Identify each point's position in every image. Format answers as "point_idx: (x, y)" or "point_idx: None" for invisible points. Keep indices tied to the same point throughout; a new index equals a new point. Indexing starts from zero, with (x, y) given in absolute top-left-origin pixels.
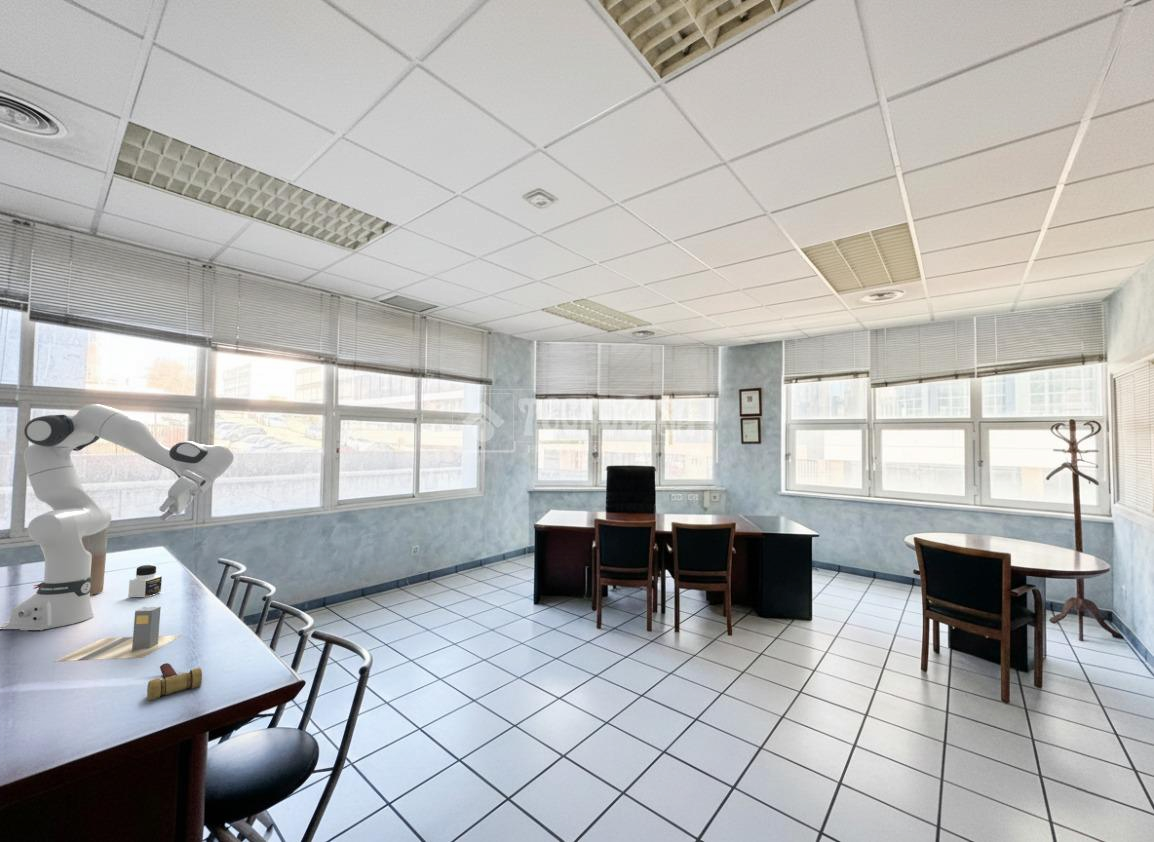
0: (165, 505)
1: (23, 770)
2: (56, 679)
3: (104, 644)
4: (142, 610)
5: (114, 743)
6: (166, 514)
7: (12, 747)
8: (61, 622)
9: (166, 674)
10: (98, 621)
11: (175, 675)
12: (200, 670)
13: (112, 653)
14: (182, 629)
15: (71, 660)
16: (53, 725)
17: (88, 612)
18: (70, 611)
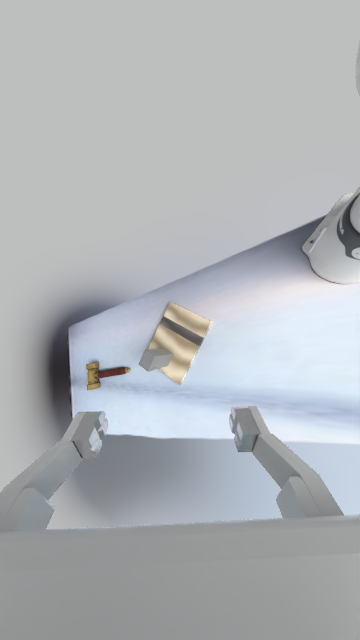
0: (67, 449)
1: (71, 328)
2: (148, 312)
3: (190, 326)
4: (143, 355)
5: (70, 353)
6: (262, 449)
7: (87, 319)
8: (313, 260)
9: (103, 371)
10: (314, 297)
11: (89, 376)
12: (87, 389)
13: (164, 336)
14: (215, 386)
15: (165, 312)
16: (95, 328)
17: (343, 277)
18: (325, 260)
